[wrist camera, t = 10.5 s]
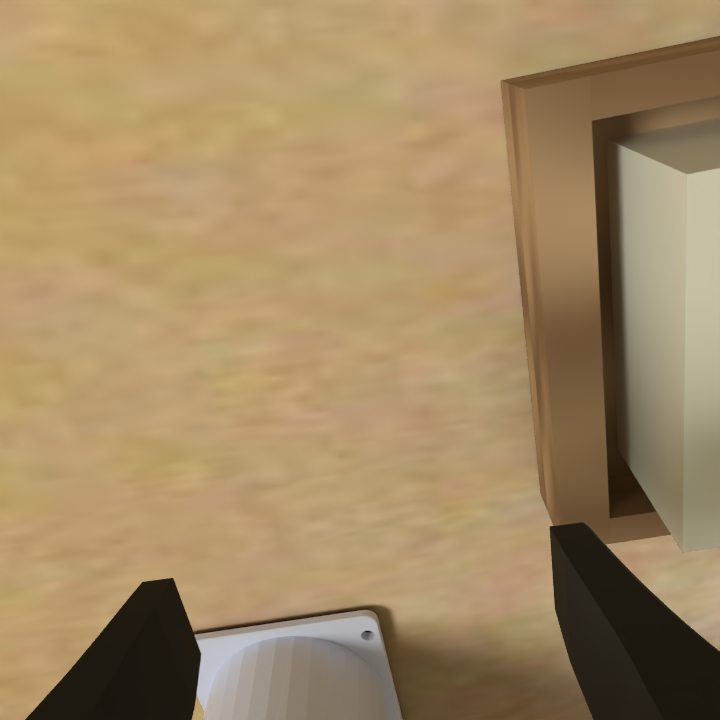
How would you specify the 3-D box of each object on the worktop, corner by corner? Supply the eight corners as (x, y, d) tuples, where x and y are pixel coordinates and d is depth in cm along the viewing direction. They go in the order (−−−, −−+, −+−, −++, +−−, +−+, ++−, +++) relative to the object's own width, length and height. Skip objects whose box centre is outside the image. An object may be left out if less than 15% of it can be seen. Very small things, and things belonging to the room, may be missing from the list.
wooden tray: (785, 455, 24) (839, 509, 21) (540, 493, 25) (563, 550, 22) (823, 15, 18) (904, 12, 15) (500, 80, 19) (525, 89, 16)
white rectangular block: (726, 431, 22) (819, 532, 18) (617, 448, 23) (682, 552, 18) (740, 112, 18) (866, 140, 14) (606, 139, 19) (686, 174, 14)
